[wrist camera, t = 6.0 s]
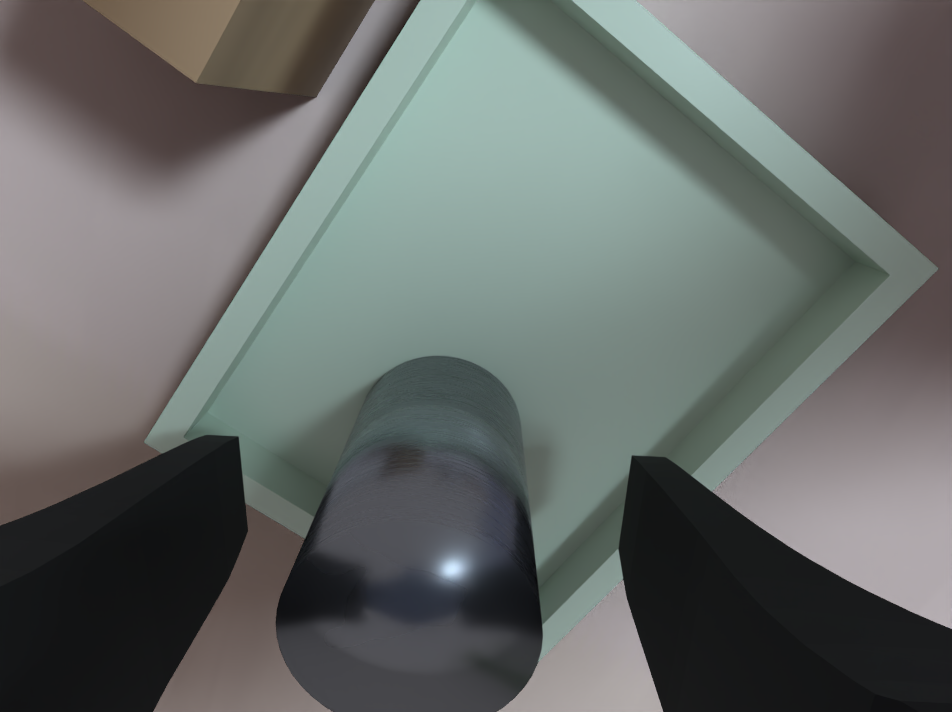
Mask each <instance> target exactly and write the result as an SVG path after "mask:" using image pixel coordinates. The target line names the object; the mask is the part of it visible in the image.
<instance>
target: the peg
mask: <svg viewBox="0 0 952 712" xmlns="http://www.w3.org/2000/svg"><path fill="white" fill-rule="evenodd" d="M276 632H277V639H278V643H279V647H280V651H281V653H282V656H283V658H284V661H285V663H286V665H287V666H288V668H289V670H290V671H291V673H292V675H293V676H294V677H295V679H296V680H297V681H298V682H299V684H300V685H301V686H302V687H303V688H304V689H305V690H306V691H307V692H308V693H309V694H310V695H311V696H312V697H313V698H314V699H316V700H317V701H318V702H320V703H321V704H322V705H323V706H325V707H326V708H328V709H330V710H331V711H333V712H497V711H498V710H500V709H501V708H503V707H504V706H506V705H507V704H508V703H509V702H510V701H511V700H513V699H514V698H515V697H516V696H517V695H518V694H519V692H520V691H521V690H522V689H523V688H524V687H525V685H526V684H527V682H528V681H529V679H530V678H531V676H532V674H533V672H534V670H535V668H536V666H537V664H538V660H539V657H540V653H541V649H542V640H543V629H542V617H541V608H540V598H539V589H538V579H537V570H536V561H535V551H534V542H533V532H532V523H531V514H530V504H529V495H528V486H527V476H526V467H525V457H524V448H523V439H522V429H521V421H520V416H519V412H518V409H517V406H516V403H515V401H514V399H513V398H512V396H511V394H510V392H509V391H508V390H507V388H506V387H505V386H504V385H503V384H502V383H501V381H500V380H499V379H498V378H497V377H495V376H494V375H493V374H492V373H490V372H489V371H487V370H486V369H484V368H482V367H481V366H479V365H477V364H475V363H472V362H470V361H467V360H464V359H460V358H456V357H450V356H425V357H420V358H415V359H412V360H409V361H406V362H404V363H402V364H400V365H398V366H396V367H394V368H393V369H391V370H389V371H388V372H387V373H385V374H384V375H383V376H382V377H381V378H380V379H379V380H378V381H377V382H376V383H375V384H374V385H373V387H372V388H371V390H370V391H369V393H368V394H367V396H366V399H365V401H364V403H363V405H362V408H361V410H360V412H359V415H358V417H357V419H356V422H355V424H354V426H353V429H352V431H351V433H350V435H349V438H348V440H347V442H346V445H345V447H344V449H343V452H342V454H341V456H340V459H339V461H338V463H337V466H336V468H335V470H334V473H333V475H332V477H331V480H330V482H329V484H328V487H327V489H326V491H325V494H324V496H323V498H322V501H321V503H320V505H319V507H318V510H317V512H316V514H315V517H314V519H313V521H312V524H311V526H310V528H309V531H308V533H307V535H306V538H305V540H304V542H303V545H302V547H301V549H300V552H299V554H298V556H297V559H296V561H295V563H294V566H293V568H292V570H291V573H290V575H289V577H288V580H287V582H286V584H285V586H284V589H283V591H282V593H281V596H280V600H279V603H278V607H277V615H276Z"/></svg>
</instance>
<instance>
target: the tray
mask: <svg viewBox="0 0 952 712" xmlns="http://www.w3.org/2000/svg"><path fill="white" fill-rule="evenodd" d="M938 269H939V268H938V267H937V266H935V265H934V264H933V263H932V262H931V261H930V260H929V259H928V258H926V257H925V256H924V255H923V254H922V253H921V252H920V251H919V250H917V249H916V248H915V247H914V246H913V245H912V244H911V243H909V242H908V241H907V240H906V239H905V238H904V237H903V236H902V235H900V234H899V233H898V232H897V231H896V230H895V229H894V228H893V227H891V226H890V225H889V224H888V223H887V222H886V221H885V220H883V219H882V218H881V217H880V216H879V215H878V214H877V213H876V212H874V211H873V210H872V209H871V208H870V207H869V206H868V205H866V204H865V203H864V202H863V201H862V200H861V199H860V198H859V197H857V196H856V195H855V194H854V193H853V192H852V191H851V190H850V189H848V188H847V187H846V186H845V185H844V184H843V183H842V182H840V181H839V180H838V179H837V178H836V177H835V176H834V175H833V174H831V173H830V172H829V171H828V170H827V169H826V168H825V167H824V166H822V165H821V164H820V163H819V162H818V161H817V160H816V159H814V158H813V157H812V156H811V155H810V154H809V153H808V152H807V151H805V150H804V149H803V148H802V147H801V146H800V145H799V144H798V143H796V142H795V141H794V140H793V139H792V138H791V137H790V136H788V135H787V134H786V133H785V132H784V131H783V130H782V129H781V128H779V127H778V126H777V125H776V124H775V123H774V122H773V121H772V120H770V119H769V118H768V117H767V116H766V115H765V114H764V113H762V112H761V111H760V110H759V109H758V108H757V107H756V106H755V105H753V104H752V103H751V102H750V101H749V100H748V99H747V98H745V97H744V96H743V95H742V94H741V93H740V92H739V91H738V90H736V89H735V88H734V87H733V86H732V85H731V84H730V83H729V82H727V81H726V80H725V79H724V78H723V77H722V76H721V75H719V74H718V73H717V72H716V71H715V70H714V69H713V68H712V67H710V66H709V65H708V64H707V63H706V62H705V61H704V60H703V59H701V58H700V57H699V56H698V55H697V54H696V53H695V52H693V51H692V50H691V49H690V48H689V47H688V46H687V45H686V44H684V43H683V42H682V41H681V40H680V39H679V38H678V37H677V36H675V35H674V34H673V33H672V32H671V31H670V30H669V29H667V28H666V27H665V26H664V25H663V24H662V23H661V22H660V21H658V20H657V19H656V18H655V17H654V16H653V15H652V14H651V13H649V12H648V11H647V10H646V9H645V8H644V7H643V6H641V5H640V4H639V3H638V2H637V1H636V0H420V2H419V3H418V5H417V7H416V8H415V10H414V11H413V13H412V15H411V16H410V18H409V19H408V21H407V23H406V24H405V26H404V27H403V29H402V31H401V32H400V34H399V35H398V37H397V39H396V40H395V42H394V43H393V45H392V47H391V48H390V50H389V51H388V53H387V55H386V56H385V58H384V59H383V61H382V63H381V64H380V66H379V67H378V69H377V71H376V72H375V74H374V75H373V77H372V79H371V80H370V82H369V83H368V85H367V87H366V88H365V90H364V91H363V93H362V95H361V96H360V98H359V99H358V101H357V102H356V104H355V106H354V107H353V109H352V110H351V112H350V114H349V115H348V117H347V118H346V120H345V122H344V123H343V125H342V126H341V128H340V130H339V131H338V133H337V134H336V136H335V138H334V139H333V141H332V142H331V144H330V146H329V147H328V149H327V150H326V152H325V154H324V155H323V157H322V158H321V160H320V162H319V163H318V165H317V166H316V168H315V170H314V171H313V173H312V174H311V176H310V178H309V179H308V181H307V182H306V184H305V186H304V187H303V189H302V190H301V192H300V193H299V195H298V197H297V198H296V200H295V201H294V203H293V205H292V206H291V208H290V209H289V211H288V213H287V214H286V216H285V217H284V219H283V221H282V222H281V224H280V225H279V227H278V229H277V230H276V232H275V233H274V235H273V237H272V238H271V240H270V241H269V243H268V245H267V246H266V248H265V249H264V251H263V253H262V254H261V256H260V257H259V259H258V261H257V262H256V264H255V265H254V267H253V269H252V270H251V272H250V273H249V275H248V277H247V278H246V280H245V281H244V283H243V285H242V286H241V288H240V289H239V291H238V292H237V294H236V296H235V297H234V299H233V300H232V302H231V304H230V305H229V307H228V308H227V310H226V312H225V313H224V315H223V316H222V318H221V320H220V321H219V323H218V324H217V326H216V328H215V329H214V331H213V332H212V334H211V336H210V337H209V339H208V340H207V342H206V344H205V345H204V347H203V348H202V350H201V352H200V353H199V355H198V356H197V358H196V360H195V361H194V363H193V364H192V366H191V368H190V369H189V371H188V372H187V374H186V376H185V377H184V379H183V380H182V382H181V384H180V385H179V387H178V388H177V390H176V391H175V393H174V395H173V396H172V398H171V399H170V401H169V403H168V404H167V406H166V407H165V409H164V411H163V412H162V414H161V415H160V417H159V419H158V420H157V422H156V423H155V425H154V427H153V428H152V430H151V431H150V433H149V435H148V436H147V438H146V439H145V441H144V443H145V444H147V445H149V446H150V447H152V448H154V449H155V450H157V451H159V452H160V453H162V454H163V453H165V452H167V451H169V450H171V449H173V448H175V447H177V446H179V445H182V444H184V443H186V442H188V441H191V440H193V439H195V438H198V437H201V436H204V435H221V436H239V444H240V454H241V465H242V475H243V485H244V496H245V503H246V504H247V505H249V506H251V507H252V508H254V509H256V510H257V511H259V512H261V513H262V514H264V515H266V516H267V517H269V518H271V519H272V520H274V521H276V522H277V523H279V524H281V525H282V526H284V527H286V528H287V529H289V530H291V531H292V532H294V533H296V534H298V535H299V536H301V537H303V538H304V539H305V538H306V535H307V533H308V531H309V528H310V526H311V524H312V521H313V519H314V517H315V514H316V512H317V510H318V507H319V505H320V503H321V501H322V498H323V496H324V494H325V491H326V489H327V487H328V484H329V482H330V480H331V477H332V475H333V473H334V470H335V468H336V466H337V463H338V461H339V459H340V456H341V454H342V452H343V449H344V447H345V445H346V442H347V440H348V438H349V435H350V433H351V431H352V429H353V426H354V424H355V422H356V419H357V417H358V415H359V412H360V410H361V408H362V405H363V403H364V401H365V399H366V396H367V394H368V393H369V391H370V390H371V388H372V387H373V385H374V384H375V383H376V382H377V381H378V380H379V379H380V378H381V377H382V376H383V375H384V374H385V373H387V372H388V371H389V370H391V369H393V368H394V367H396V366H398V365H400V364H402V363H404V362H406V361H409V360H412V359H415V358H420V357H425V356H450V357H456V358H460V359H464V360H467V361H470V362H472V363H475V364H477V365H479V366H481V367H482V368H484V369H486V370H487V371H489V372H490V373H492V374H493V375H494V376H495V377H497V378H498V379H499V380H500V381H501V383H502V384H503V385H504V386H505V387H506V388H507V390H508V391H509V392H510V394H511V396H512V398H513V399H514V401H515V403H516V406H517V409H518V412H519V416H520V421H521V429H522V439H523V448H524V457H525V467H526V476H527V486H528V495H529V504H530V514H531V523H532V532H533V542H534V551H535V561H536V570H537V579H538V589H539V598H540V608H541V617H542V629H543V640H542V649H541V653H540V657H539V660H538V662H539V661H540V660H541V659H542V658H543V657H544V656H545V655H546V654H547V653H548V652H549V651H550V650H551V649H552V648H553V647H554V646H555V645H556V644H557V643H558V642H559V641H560V640H561V639H562V638H563V637H564V636H565V635H566V634H567V633H568V632H569V631H570V630H571V629H572V628H573V627H574V626H575V625H576V624H577V623H578V622H579V621H580V620H581V619H582V618H584V617H585V616H586V615H587V614H588V613H589V612H590V611H591V610H592V609H593V608H594V607H595V606H596V605H597V604H598V603H599V602H600V601H601V600H602V599H603V598H604V597H605V596H606V595H607V594H608V593H609V592H610V591H611V590H612V589H613V588H614V587H615V586H616V585H617V584H618V583H619V582H620V581H621V580H622V579H623V574H622V568H621V562H620V556H619V550H618V548H619V541H620V534H621V527H622V520H623V513H624V506H625V499H626V492H627V485H628V478H629V471H630V464H631V457H632V455H635V456H655V457H666V458H668V459H669V460H671V461H672V462H674V463H675V464H677V465H678V466H679V467H681V468H682V469H683V470H685V471H686V472H687V473H688V474H690V475H691V476H692V477H694V478H695V479H696V480H697V481H699V482H700V483H701V484H703V485H704V486H705V487H706V488H708V489H709V490H710V491H713V490H714V489H715V488H716V487H717V486H718V485H719V484H720V483H721V482H722V481H723V480H724V479H725V478H726V477H727V476H728V475H729V474H730V473H731V472H732V471H733V470H734V469H735V468H736V467H737V466H738V465H739V464H740V463H741V462H742V461H744V460H745V459H746V458H747V457H748V456H749V455H750V454H751V453H752V452H753V451H754V450H755V449H756V448H757V447H758V446H759V445H760V444H761V443H762V442H763V441H764V440H765V439H766V438H767V437H768V436H769V435H770V434H771V433H772V432H773V431H774V430H775V429H776V428H777V427H778V426H779V425H780V424H781V423H782V422H783V421H784V420H785V419H786V418H787V417H788V416H789V415H790V414H791V413H792V412H793V411H794V410H795V409H796V408H798V407H799V406H800V405H801V404H802V403H803V402H804V401H805V400H806V399H807V398H808V397H809V396H810V395H811V394H812V393H813V392H814V391H815V390H816V389H817V388H818V387H819V386H820V385H821V384H822V383H823V382H824V381H825V380H826V379H827V378H828V377H829V376H830V375H831V374H832V373H833V372H834V371H835V370H836V369H837V368H838V367H839V366H840V365H841V364H842V363H843V362H844V361H845V360H846V359H847V358H848V357H849V356H851V355H852V354H853V353H854V352H855V351H856V350H857V349H858V348H859V347H860V346H861V345H862V344H863V343H864V342H865V341H866V340H867V339H868V338H869V337H870V336H871V335H872V334H873V333H874V332H875V331H876V330H877V329H878V328H879V327H880V326H881V325H882V324H883V323H884V322H885V321H886V320H887V319H888V318H889V317H890V316H891V315H892V314H893V313H894V312H895V311H896V310H897V309H898V308H899V307H900V306H901V305H902V304H903V303H905V302H906V301H907V300H908V299H909V298H910V297H911V296H912V295H913V294H914V293H915V292H916V291H917V290H918V289H919V288H920V287H921V286H922V285H923V284H924V283H925V282H926V281H927V280H928V279H929V278H930V277H931V276H932V275H933V274H934V273H935V272H936V271H937V270H938Z"/></svg>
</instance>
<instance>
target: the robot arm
mask: <svg viewBox="0 0 952 712" xmlns="http://www.w3.org/2000/svg"><path fill="white" fill-rule="evenodd" d="M247 532H248V526H247V516H246V506H245V496H244V485H243V475H242V465H241V454H240V444H239V436H221V435H204V436H201V437H198V438H195V439H193V440H191V441H188V442H186V443H184V444H182V445H179V446H177V447H175V448H173V449H171V450H169V451H167V452H165V453H163V454H161V455H159V456H157V457H155V458H153V459H151V460H149V461H147V462H144V463H142V464H140V465H138V466H136V467H134V468H132V469H130V470H128V471H126V472H124V473H122V474H120V475H118V476H116V477H114V478H112V479H110V480H108V481H105V482H103V483H101V484H99V485H97V486H94V487H92V488H90V489H88V490H86V491H83V492H81V493H79V494H77V495H74V496H72V497H70V498H68V499H66V500H63V501H61V502H59V503H57V504H55V505H52V506H50V507H47V508H45V509H43V510H40V511H38V512H35V513H33V514H30V515H28V516H25V517H23V518H20V519H17V520H15V521H12V522H9V523H6V524H4V525H1V526H0V712H153V711H154V709H155V707H156V705H157V703H158V701H159V699H160V697H161V695H162V694H163V692H164V690H165V688H166V686H167V684H168V683H169V681H170V679H171V678H172V676H173V674H174V672H175V671H176V669H177V667H178V666H179V664H180V662H181V660H182V659H183V657H184V655H185V654H186V652H187V650H188V648H189V647H190V645H191V643H192V642H193V640H194V638H195V636H196V635H197V633H198V631H199V630H200V628H201V626H202V624H203V623H204V621H205V619H206V618H207V616H208V614H209V612H210V611H211V609H212V607H213V605H214V604H215V602H216V600H217V598H218V597H219V595H220V593H221V591H222V590H223V588H224V586H225V584H226V582H227V581H228V579H229V577H230V574H231V572H232V570H233V567H234V565H235V563H236V560H237V558H238V555H239V553H240V550H241V548H242V545H243V542H244V540H245V537H246V535H247ZM618 550H619V556H620V562H621V568H622V574H623V580H624V585H625V590H626V596H627V600H628V603H629V606H630V610H631V613H632V616H633V619H634V622H635V625H636V629H637V632H638V635H639V638H640V641H641V644H642V647H643V650H644V653H645V656H646V660H647V663H648V666H649V669H650V672H651V675H652V678H653V681H654V684H655V687H656V690H657V693H658V696H659V699H660V703H661V706H662V709H663V712H952V629H950V628H947V627H945V626H943V625H940V624H938V623H936V622H933V621H931V620H929V619H926V618H924V617H922V616H919V615H917V614H915V613H912V612H910V611H908V610H906V609H904V608H902V607H900V606H898V605H896V604H893V603H891V602H889V601H887V600H885V599H883V598H881V597H879V596H877V595H874V594H872V593H870V592H868V591H866V590H864V589H862V588H860V587H859V586H857V585H855V584H853V583H851V582H849V581H847V580H845V579H843V578H841V577H840V576H838V575H836V574H834V573H833V572H831V571H829V570H827V569H826V568H824V567H822V566H820V565H819V564H817V563H815V562H813V561H812V560H810V559H808V558H806V557H805V556H803V555H801V554H800V553H798V552H797V551H795V550H793V549H792V548H790V547H789V546H787V545H786V544H784V543H783V542H781V541H780V540H778V539H777V538H775V537H774V536H772V535H771V534H769V533H768V532H766V531H765V530H763V529H762V528H760V527H759V526H757V525H756V524H754V523H753V522H752V521H750V520H749V519H747V518H746V517H745V516H743V515H742V514H741V513H739V512H738V511H737V510H735V509H734V508H732V507H731V506H730V505H728V504H727V503H726V502H725V501H723V500H722V499H721V498H719V497H718V496H717V495H715V494H714V493H713V492H712V491H710V490H709V489H708V488H706V487H705V486H704V485H703V484H701V483H700V482H699V481H697V480H696V479H695V478H694V477H692V476H691V475H690V474H688V473H687V472H686V471H685V470H683V469H682V468H681V467H679V466H678V465H677V464H675V463H674V462H672V461H671V460H669V459H668V458H666V457H655V456H635V455H632V457H631V464H630V471H629V478H628V485H627V492H626V499H625V506H624V513H623V520H622V527H621V534H620V541H619V548H618Z"/></svg>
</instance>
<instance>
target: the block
mask: <svg viewBox="0 0 952 712" xmlns="http://www.w3.org/2000/svg"><path fill="white" fill-rule="evenodd" d="M82 1H84V2H85V3H86V4H88V5H89V6H91V7H92V8H93V9H95V10H96V11H97V12H99V13H100V14H102V15H103V16H104V17H106V18H107V19H108V20H110V21H111V22H113V23H114V24H115V25H117V26H118V27H119V28H121V29H122V30H124V31H125V32H126V33H128V34H129V35H130V36H132V37H133V38H135V39H136V40H137V41H139V42H140V43H141V44H143V45H144V46H146V47H147V48H148V49H150V50H151V51H152V52H154V53H155V54H157V55H158V56H159V57H161V58H162V59H163V60H165V61H166V62H168V63H169V64H170V65H172V66H173V67H174V68H176V69H177V70H179V71H180V72H181V73H183V74H184V75H185V76H187V77H188V78H190V79H191V80H192V81H194V82H195V83H199V84H207V85H216V86H224V87H233V88H241V89H250V90H258V91H267V92H275V93H284V94H292V95H301V96H309V97H317V95H318V93H319V92H320V90H321V88H322V87H323V85H324V83H325V82H326V80H327V78H328V77H329V75H330V73H331V72H332V70H333V69H334V67H335V65H336V64H337V62H338V60H339V59H340V57H341V55H342V54H343V52H344V50H345V49H346V47H347V45H348V44H349V42H350V40H351V39H352V37H353V35H354V34H355V32H356V30H357V29H358V27H359V25H360V24H361V22H362V21H363V19H364V17H365V16H366V14H367V12H368V11H369V9H370V7H371V6H372V4H373V2H374V1H375V0H82Z"/></svg>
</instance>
